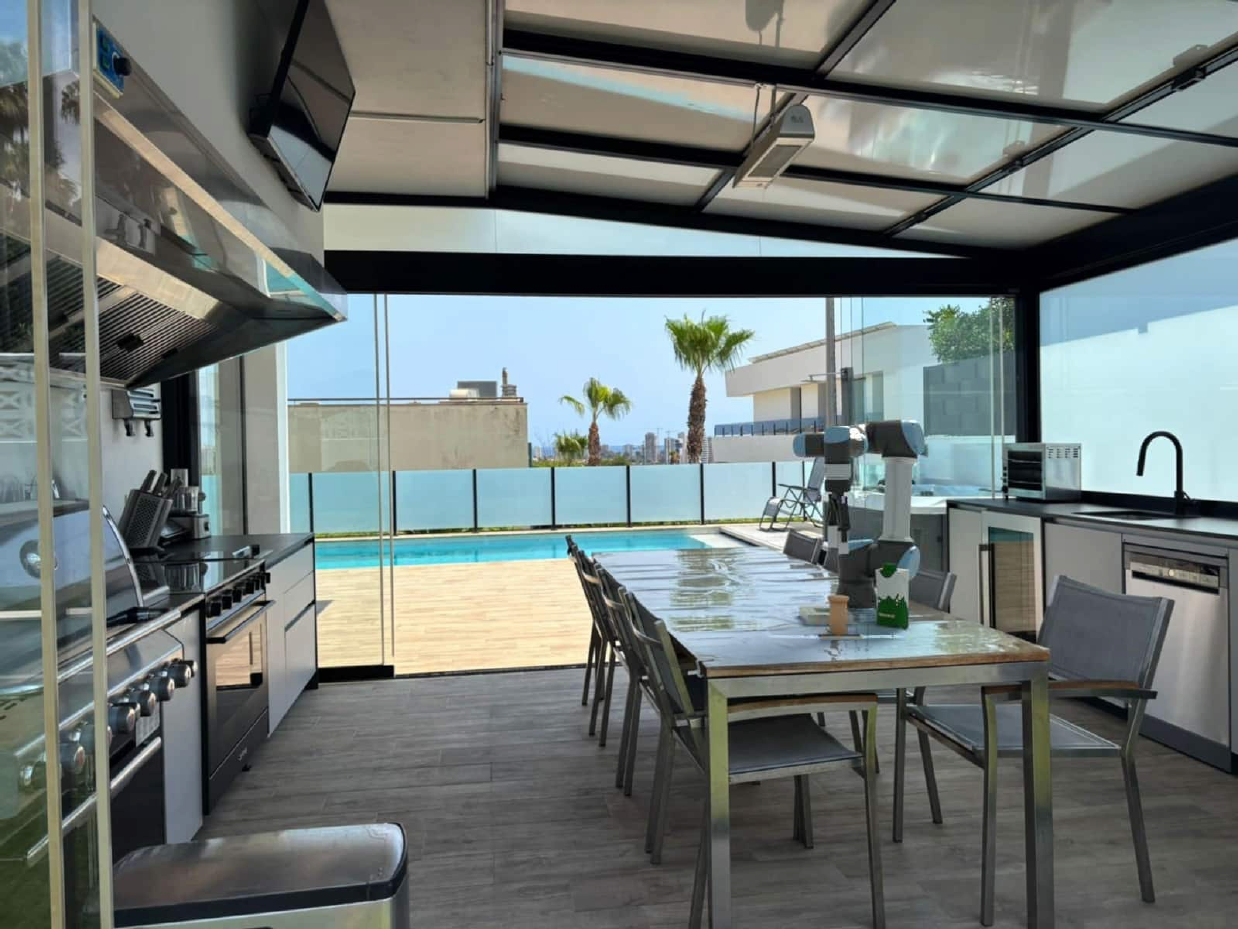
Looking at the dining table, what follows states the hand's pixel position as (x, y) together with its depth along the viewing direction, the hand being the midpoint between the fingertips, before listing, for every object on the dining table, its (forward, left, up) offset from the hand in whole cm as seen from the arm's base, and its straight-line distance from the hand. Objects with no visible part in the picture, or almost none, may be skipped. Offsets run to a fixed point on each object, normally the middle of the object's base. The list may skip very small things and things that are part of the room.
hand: (838, 550), depth 246 cm
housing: (0, -17, -25) cm, 30 cm away
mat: (0, 0, -25) cm, 25 cm away
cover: (0, 0, -25) cm, 25 cm away
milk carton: (-19, -10, -25) cm, 33 cm away
